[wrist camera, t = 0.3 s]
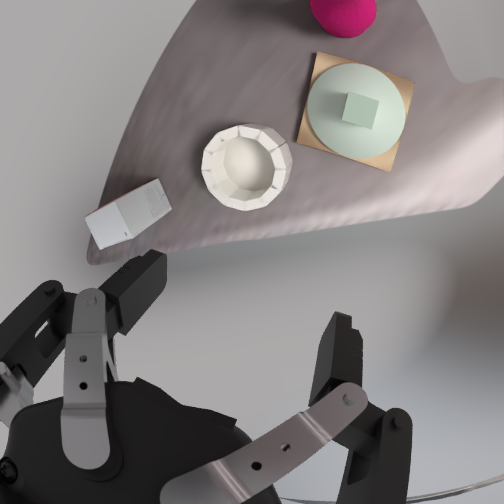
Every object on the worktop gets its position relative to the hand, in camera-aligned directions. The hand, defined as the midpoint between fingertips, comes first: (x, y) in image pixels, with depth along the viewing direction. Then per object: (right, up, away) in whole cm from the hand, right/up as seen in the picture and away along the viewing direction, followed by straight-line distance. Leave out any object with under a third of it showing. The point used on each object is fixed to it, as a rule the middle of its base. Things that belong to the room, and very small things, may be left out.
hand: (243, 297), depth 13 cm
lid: (+12, +18, +16) cm, 27 cm away
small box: (-16, +10, +31) cm, 37 cm away
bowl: (+1, +14, +24) cm, 27 cm away
